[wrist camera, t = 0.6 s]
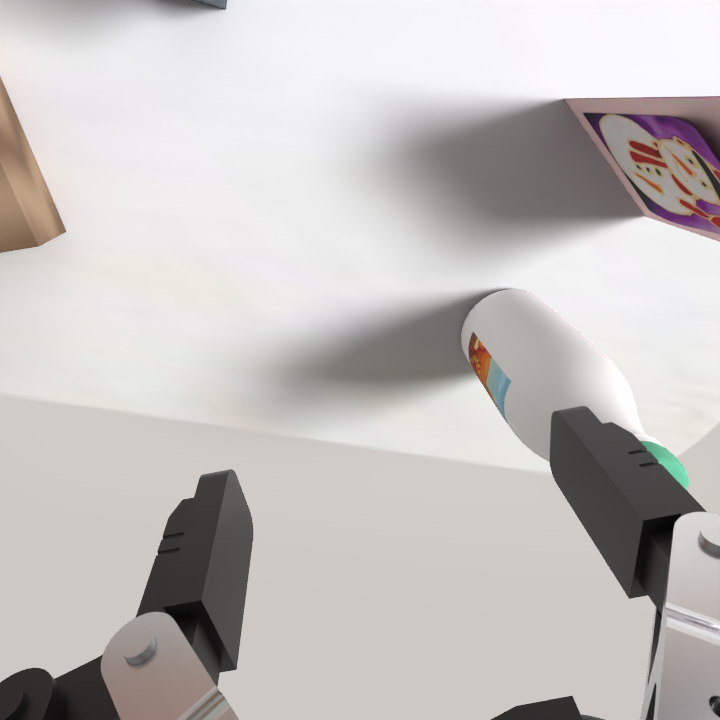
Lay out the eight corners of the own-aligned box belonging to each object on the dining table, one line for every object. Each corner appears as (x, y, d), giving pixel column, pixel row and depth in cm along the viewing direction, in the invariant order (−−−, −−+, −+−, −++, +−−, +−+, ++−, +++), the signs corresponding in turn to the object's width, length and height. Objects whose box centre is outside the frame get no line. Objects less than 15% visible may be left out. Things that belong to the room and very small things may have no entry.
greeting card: (553, 109, 34) (710, 113, 21) (646, 17, 32) (885, -43, 19) (635, 224, 38) (807, 288, 25) (721, 150, 36) (958, 178, 23)
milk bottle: (469, 282, 39) (599, 430, 22) (559, 289, 40) (754, 436, 23) (450, 367, 43) (549, 553, 25) (534, 371, 44) (685, 554, 26)
